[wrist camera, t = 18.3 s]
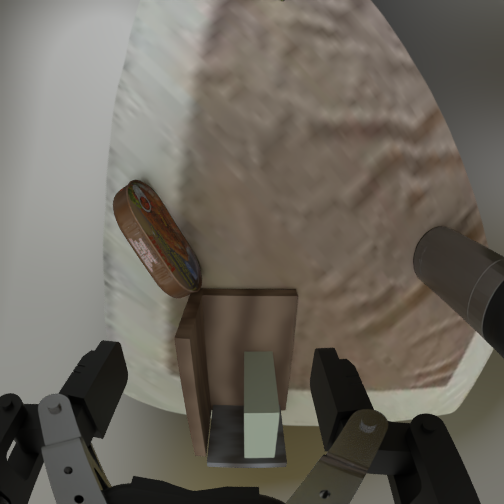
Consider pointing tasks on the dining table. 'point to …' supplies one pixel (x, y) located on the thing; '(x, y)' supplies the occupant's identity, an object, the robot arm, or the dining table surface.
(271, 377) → the sage green tall block
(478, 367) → the dining table surface
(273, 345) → the bookshelf
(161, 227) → the tin
